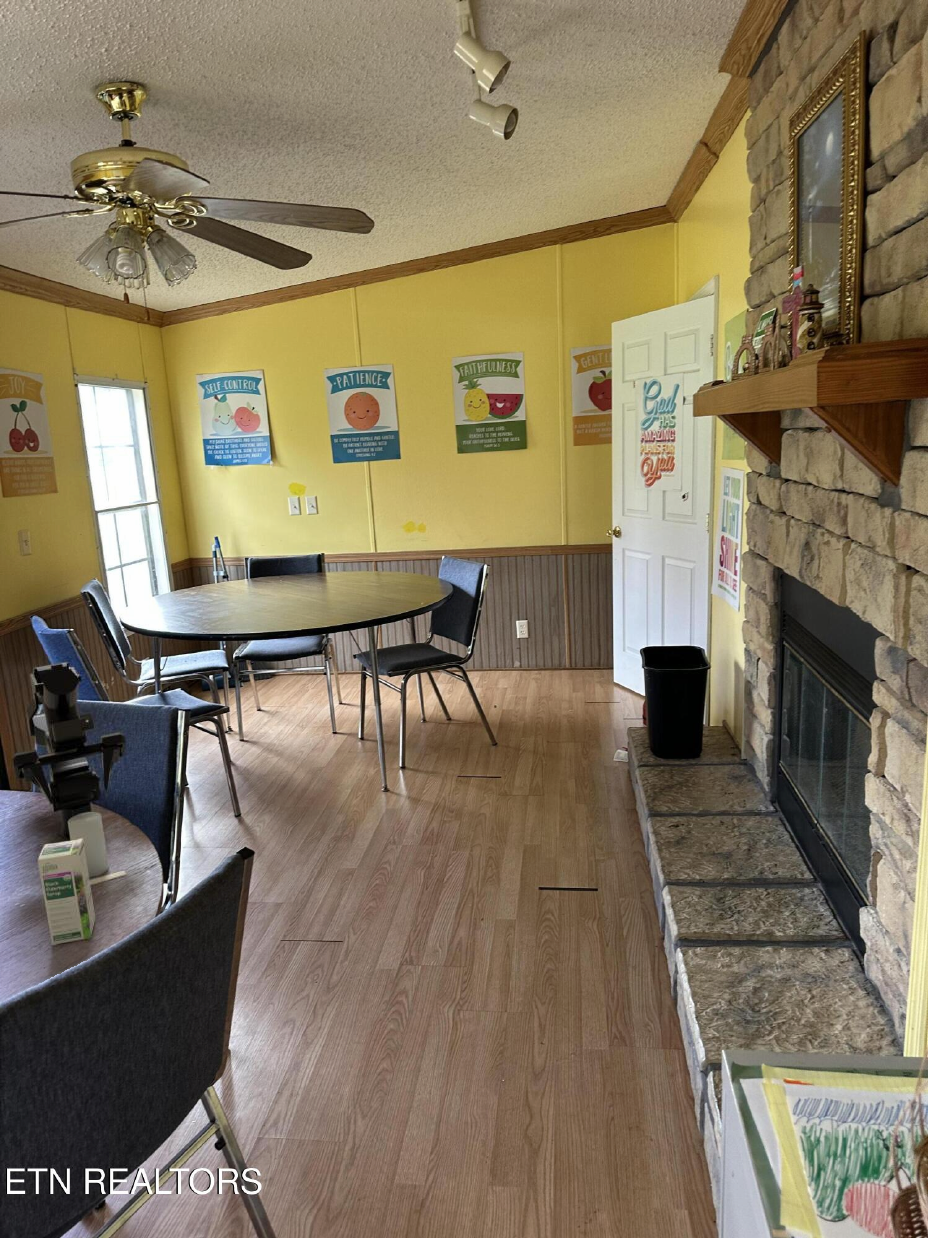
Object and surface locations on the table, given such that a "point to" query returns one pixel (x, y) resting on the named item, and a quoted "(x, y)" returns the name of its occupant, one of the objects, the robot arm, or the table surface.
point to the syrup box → (66, 891)
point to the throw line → (107, 877)
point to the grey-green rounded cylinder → (90, 840)
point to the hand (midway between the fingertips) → (79, 797)
